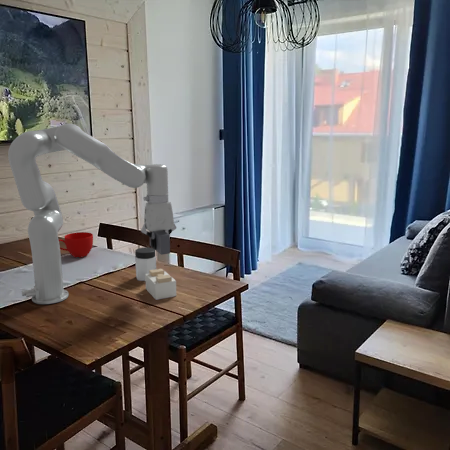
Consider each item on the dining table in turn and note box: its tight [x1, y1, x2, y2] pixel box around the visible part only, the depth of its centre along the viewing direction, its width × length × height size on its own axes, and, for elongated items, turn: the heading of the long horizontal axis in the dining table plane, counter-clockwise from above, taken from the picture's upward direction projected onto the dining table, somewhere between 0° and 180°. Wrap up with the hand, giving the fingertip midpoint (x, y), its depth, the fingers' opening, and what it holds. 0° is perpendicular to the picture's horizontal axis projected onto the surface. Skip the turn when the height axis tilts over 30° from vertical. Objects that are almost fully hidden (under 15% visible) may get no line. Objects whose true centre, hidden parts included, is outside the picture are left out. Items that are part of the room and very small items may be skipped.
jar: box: [134, 246, 157, 282], centre depth 184 cm, size 9×8×12 cm
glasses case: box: [148, 230, 171, 256], centre depth 165 cm, size 3×13×7 cm, turn 27°
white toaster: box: [145, 268, 177, 301], centre depth 169 cm, size 8×12×8 cm, turn 27°
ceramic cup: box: [58, 231, 94, 258], centre depth 213 cm, size 13×17×10 cm
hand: (159, 247), depth 166 cm, fingers closed on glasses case, 3 cm apart
